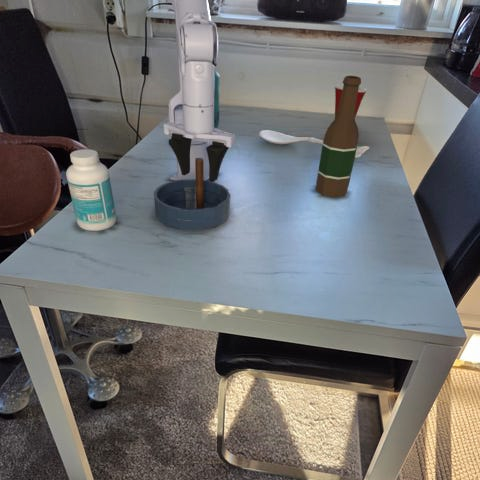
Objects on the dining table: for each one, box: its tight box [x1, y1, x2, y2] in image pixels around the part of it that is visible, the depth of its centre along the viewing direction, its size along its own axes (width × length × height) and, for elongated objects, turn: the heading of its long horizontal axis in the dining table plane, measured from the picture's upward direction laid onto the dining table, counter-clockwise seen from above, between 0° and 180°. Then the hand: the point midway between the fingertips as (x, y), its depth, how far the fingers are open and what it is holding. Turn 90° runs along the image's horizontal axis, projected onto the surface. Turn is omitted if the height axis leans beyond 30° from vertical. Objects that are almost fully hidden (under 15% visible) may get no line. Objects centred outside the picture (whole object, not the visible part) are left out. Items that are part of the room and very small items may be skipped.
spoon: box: [258, 129, 370, 159], centre depth 122 cm, size 9×32×4 cm, turn 60°
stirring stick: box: [195, 158, 204, 208], centre depth 87 cm, size 2×2×10 cm
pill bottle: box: [65, 148, 117, 232], centre depth 79 cm, size 8×7×14 cm
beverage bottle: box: [212, 60, 221, 129], centre depth 127 cm, size 6×7×20 cm
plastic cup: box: [334, 83, 368, 118], centre depth 142 cm, size 11×11×12 cm
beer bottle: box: [315, 75, 362, 199], centre depth 93 cm, size 8×8×24 cm
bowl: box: [153, 179, 232, 231], centre depth 87 cm, size 15×15×4 cm
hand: (199, 176), depth 86 cm, fingers open, 6 cm apart
